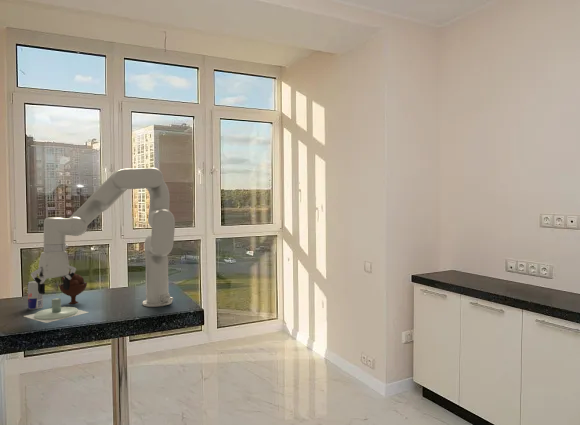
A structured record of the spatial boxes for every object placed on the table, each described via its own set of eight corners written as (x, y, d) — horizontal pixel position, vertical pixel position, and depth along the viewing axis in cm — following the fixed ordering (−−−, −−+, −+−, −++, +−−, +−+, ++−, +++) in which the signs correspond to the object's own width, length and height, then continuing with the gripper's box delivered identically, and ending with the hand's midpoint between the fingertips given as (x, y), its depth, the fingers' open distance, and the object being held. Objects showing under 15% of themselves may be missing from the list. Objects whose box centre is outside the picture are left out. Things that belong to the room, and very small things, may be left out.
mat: (89, 314, 170) (89, 312, 169) (46, 325, 155) (46, 322, 155) (65, 308, 179) (65, 306, 178) (23, 318, 164) (22, 316, 164)
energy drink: (26, 309, 177) (26, 281, 177) (41, 307, 181) (40, 280, 181) (30, 312, 173) (29, 283, 173) (44, 309, 177) (43, 281, 177)
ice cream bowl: (76, 308, 179) (75, 273, 178) (53, 307, 181) (52, 273, 180) (92, 302, 189) (91, 269, 189) (71, 301, 191) (70, 269, 191)
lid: (85, 312, 169) (85, 297, 169) (47, 321, 156) (47, 306, 156) (64, 307, 177) (64, 293, 177) (26, 316, 164) (26, 300, 164)
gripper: (70, 246, 175) (70, 287, 175) (26, 249, 160) (26, 294, 161) (80, 247, 171) (80, 289, 172) (36, 251, 157) (36, 296, 157)
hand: (54, 291), depth 166 cm, fingers open, 9 cm apart
